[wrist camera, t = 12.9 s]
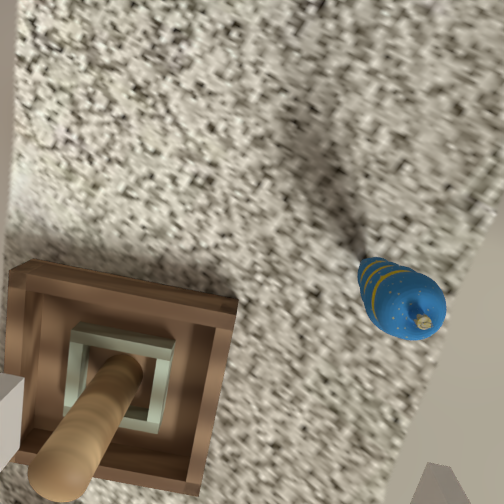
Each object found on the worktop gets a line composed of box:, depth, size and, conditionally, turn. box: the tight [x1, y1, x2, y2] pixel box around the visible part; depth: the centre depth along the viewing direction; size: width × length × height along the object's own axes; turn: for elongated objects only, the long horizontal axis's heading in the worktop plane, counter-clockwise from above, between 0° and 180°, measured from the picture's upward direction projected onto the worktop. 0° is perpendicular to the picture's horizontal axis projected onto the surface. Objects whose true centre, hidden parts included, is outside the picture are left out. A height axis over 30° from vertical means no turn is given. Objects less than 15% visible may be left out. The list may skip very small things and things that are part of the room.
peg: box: [28, 355, 143, 502], centre depth 36 cm, size 4×4×14 cm
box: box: [4, 259, 239, 497], centre depth 41 cm, size 21×21×4 cm
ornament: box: [358, 257, 446, 340], centre depth 32 cm, size 5×5×15 cm
